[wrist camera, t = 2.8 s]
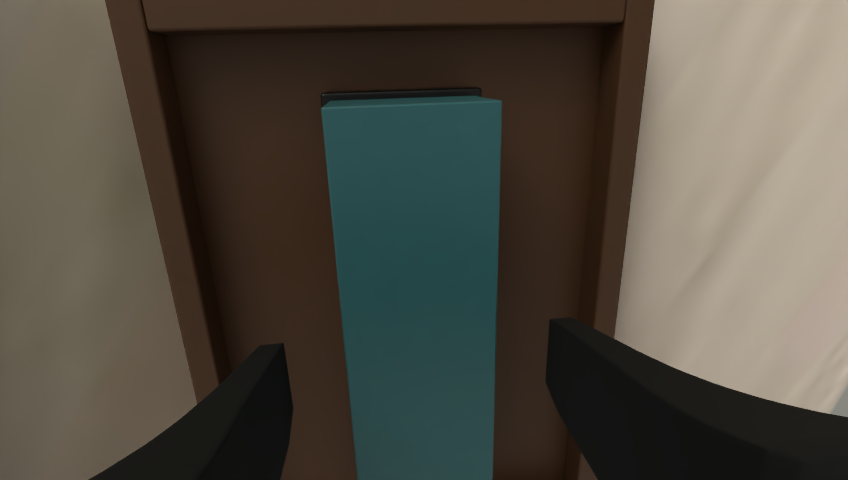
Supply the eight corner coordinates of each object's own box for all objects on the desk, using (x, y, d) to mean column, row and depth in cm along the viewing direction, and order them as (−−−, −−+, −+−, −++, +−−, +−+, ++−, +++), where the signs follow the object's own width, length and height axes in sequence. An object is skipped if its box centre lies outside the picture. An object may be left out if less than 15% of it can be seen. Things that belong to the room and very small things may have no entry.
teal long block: (469, 464, 18) (497, 564, 15) (360, 477, 18) (360, 584, 14) (470, 86, 14) (512, 89, 10) (323, 90, 13) (309, 97, 9)
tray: (244, 532, 18) (234, 570, 17) (132, 4, 12) (102, -5, 11) (576, 488, 20) (593, 519, 18) (626, -3, 14) (657, -12, 12)
